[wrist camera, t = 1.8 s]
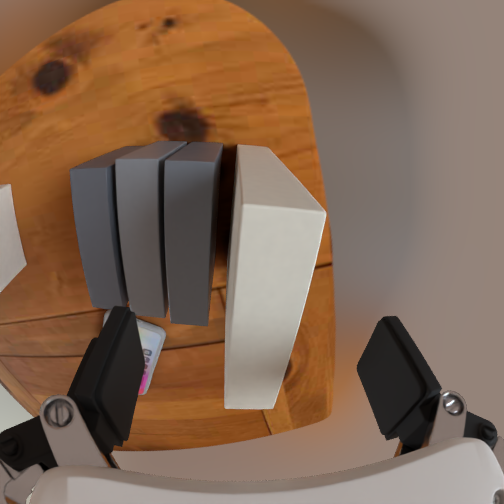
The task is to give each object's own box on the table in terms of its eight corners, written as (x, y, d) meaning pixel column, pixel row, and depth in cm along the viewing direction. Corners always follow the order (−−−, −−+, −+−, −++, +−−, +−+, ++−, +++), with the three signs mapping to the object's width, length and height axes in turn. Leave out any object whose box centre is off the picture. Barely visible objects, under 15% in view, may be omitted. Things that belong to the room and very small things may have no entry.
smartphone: (167, 333, 28) (145, 397, 34) (169, 327, 29) (146, 392, 35) (103, 310, 26) (97, 381, 32) (106, 304, 27) (99, 375, 33)
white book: (237, 144, 20) (241, 203, 7) (268, 147, 21) (327, 212, 8) (227, 257, 25) (224, 409, 12) (254, 259, 25) (273, 409, 12)
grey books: (125, 141, 20) (67, 162, 12) (222, 143, 20) (214, 162, 12) (130, 251, 24) (92, 313, 16) (215, 256, 25) (207, 326, 17)
